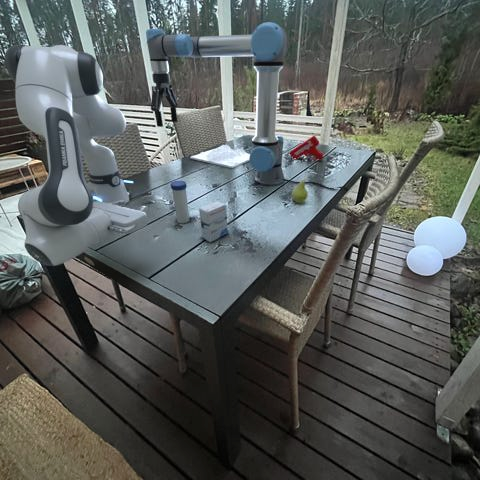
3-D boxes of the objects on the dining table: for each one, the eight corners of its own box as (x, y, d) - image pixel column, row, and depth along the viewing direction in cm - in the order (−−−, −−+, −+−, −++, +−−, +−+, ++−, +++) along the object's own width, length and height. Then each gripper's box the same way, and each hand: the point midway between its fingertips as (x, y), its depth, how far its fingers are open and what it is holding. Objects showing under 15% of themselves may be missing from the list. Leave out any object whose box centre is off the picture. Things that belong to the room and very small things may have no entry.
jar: (184, 224, 105) (179, 187, 97) (174, 221, 107) (168, 185, 99) (192, 218, 109) (187, 183, 101) (181, 216, 111) (176, 181, 103)
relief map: (232, 168, 162) (231, 159, 159) (190, 158, 179) (189, 150, 177) (257, 157, 180) (257, 149, 177) (217, 149, 198) (217, 142, 195)
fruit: (288, 200, 123) (290, 174, 116) (302, 197, 125) (305, 172, 119) (296, 206, 118) (299, 179, 111) (310, 203, 120) (314, 177, 114)
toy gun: (327, 155, 171) (315, 134, 168) (326, 157, 168) (314, 136, 164) (302, 170, 182) (290, 151, 178) (301, 172, 178) (289, 152, 174)
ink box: (219, 228, 102) (217, 199, 95) (228, 233, 99) (227, 204, 92) (201, 237, 97) (198, 207, 90) (210, 242, 94) (207, 212, 87)
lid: (180, 191, 97) (180, 187, 96) (168, 189, 99) (167, 184, 98) (189, 186, 102) (189, 181, 101) (177, 183, 104) (176, 179, 103)
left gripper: (121, 222, 67) (159, 201, 77) (68, 207, 75) (108, 190, 85) (127, 244, 70) (162, 221, 81) (75, 227, 78) (113, 208, 89)
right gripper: (167, 72, 132) (173, 119, 143) (136, 73, 112) (146, 128, 123) (181, 72, 130) (186, 120, 141) (151, 73, 110) (160, 129, 121)
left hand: (134, 205), depth 83 cm, fingers open, 8 cm apart
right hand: (167, 124), depth 132 cm, fingers open, 13 cm apart
